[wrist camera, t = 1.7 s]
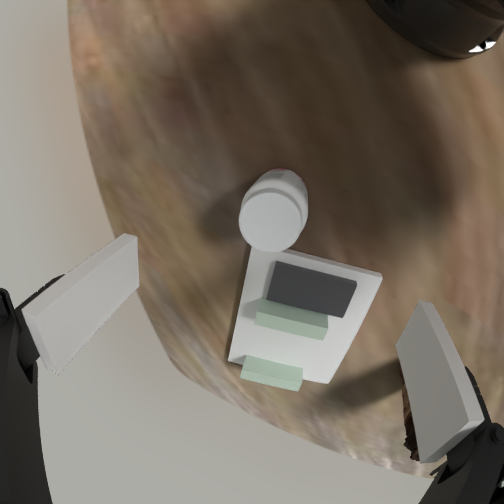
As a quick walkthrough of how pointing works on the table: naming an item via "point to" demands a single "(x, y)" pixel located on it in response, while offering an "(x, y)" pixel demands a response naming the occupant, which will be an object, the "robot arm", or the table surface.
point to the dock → (297, 344)
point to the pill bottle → (274, 211)
